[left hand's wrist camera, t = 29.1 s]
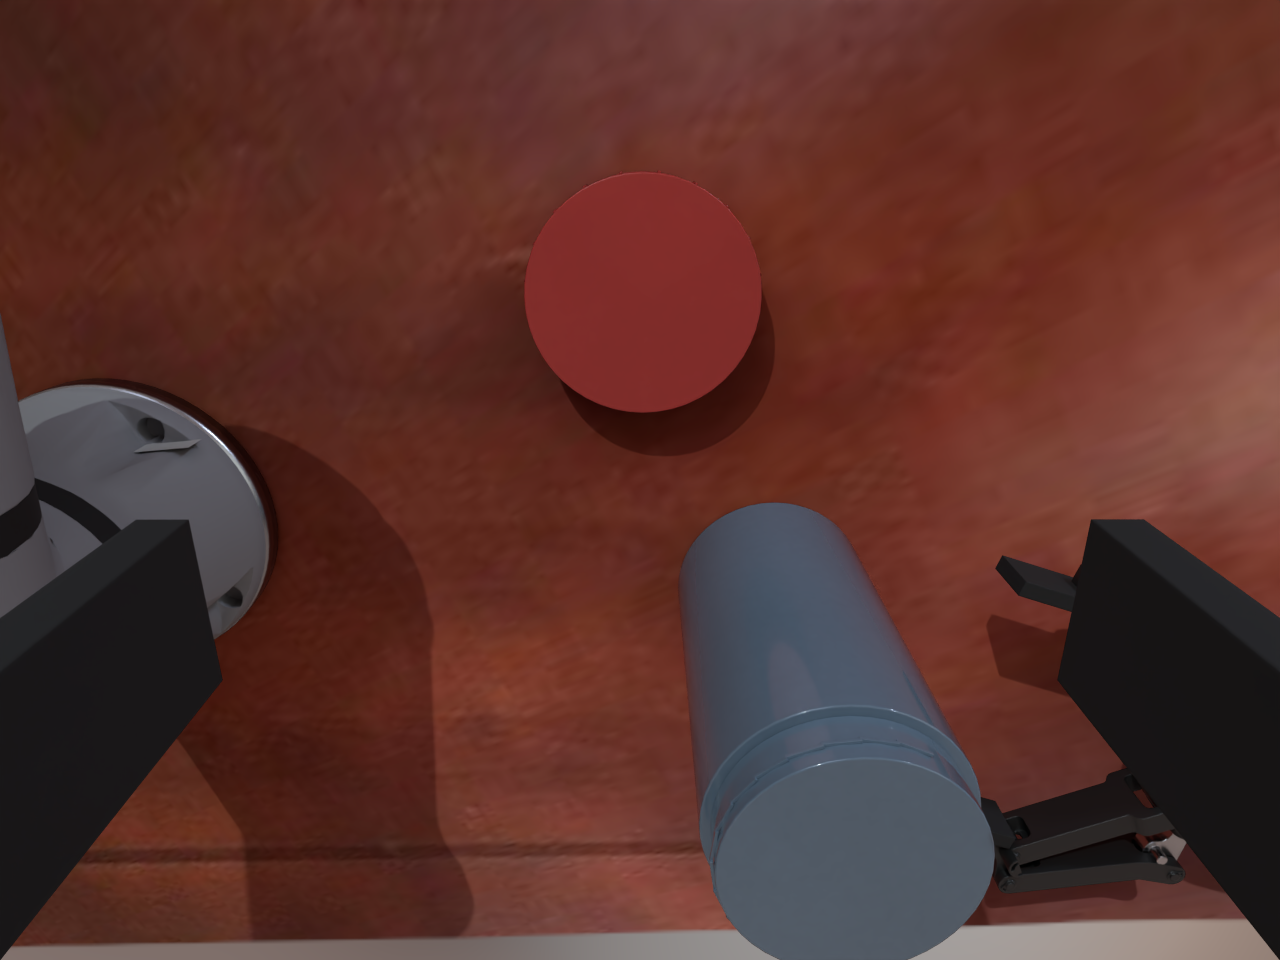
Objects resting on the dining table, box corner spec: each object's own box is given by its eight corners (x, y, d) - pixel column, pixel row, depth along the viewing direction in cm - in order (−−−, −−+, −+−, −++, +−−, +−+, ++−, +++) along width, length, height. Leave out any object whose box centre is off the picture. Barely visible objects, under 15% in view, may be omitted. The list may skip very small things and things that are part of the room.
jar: (650, 542, 46) (657, 808, 27) (826, 474, 44) (961, 705, 26) (717, 686, 49) (764, 1011, 31) (883, 627, 48) (1038, 930, 29)
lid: (799, 311, 41) (808, 320, 39) (623, 440, 44) (622, 456, 41) (665, 119, 38) (667, 116, 36) (483, 269, 41) (474, 276, 38)
